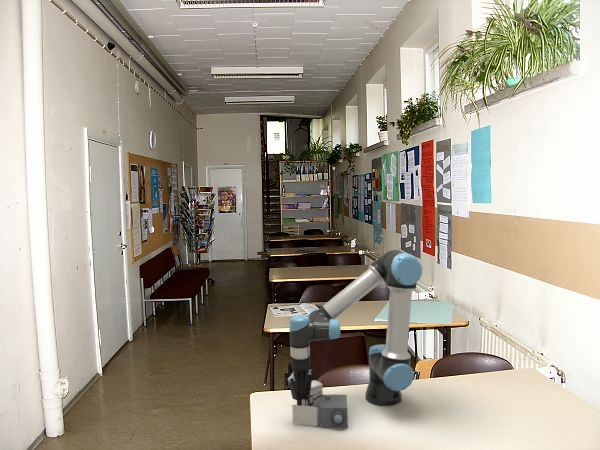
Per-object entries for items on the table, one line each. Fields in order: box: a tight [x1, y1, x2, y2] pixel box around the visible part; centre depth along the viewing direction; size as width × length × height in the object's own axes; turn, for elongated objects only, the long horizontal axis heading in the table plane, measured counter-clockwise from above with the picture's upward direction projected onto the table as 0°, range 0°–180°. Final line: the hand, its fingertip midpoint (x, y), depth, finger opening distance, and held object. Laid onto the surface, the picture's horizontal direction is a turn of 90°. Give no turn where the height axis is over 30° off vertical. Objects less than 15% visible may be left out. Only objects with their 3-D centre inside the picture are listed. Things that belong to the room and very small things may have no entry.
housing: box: [320, 394, 349, 429], centre depth 196 cm, size 10×14×9 cm
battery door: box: [291, 404, 321, 427], centre depth 194 cm, size 1×11×7 cm, turn 73°
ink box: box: [306, 379, 324, 408], centre depth 206 cm, size 8×5×12 cm, turn 123°
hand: (301, 415), depth 198 cm, fingers closed
